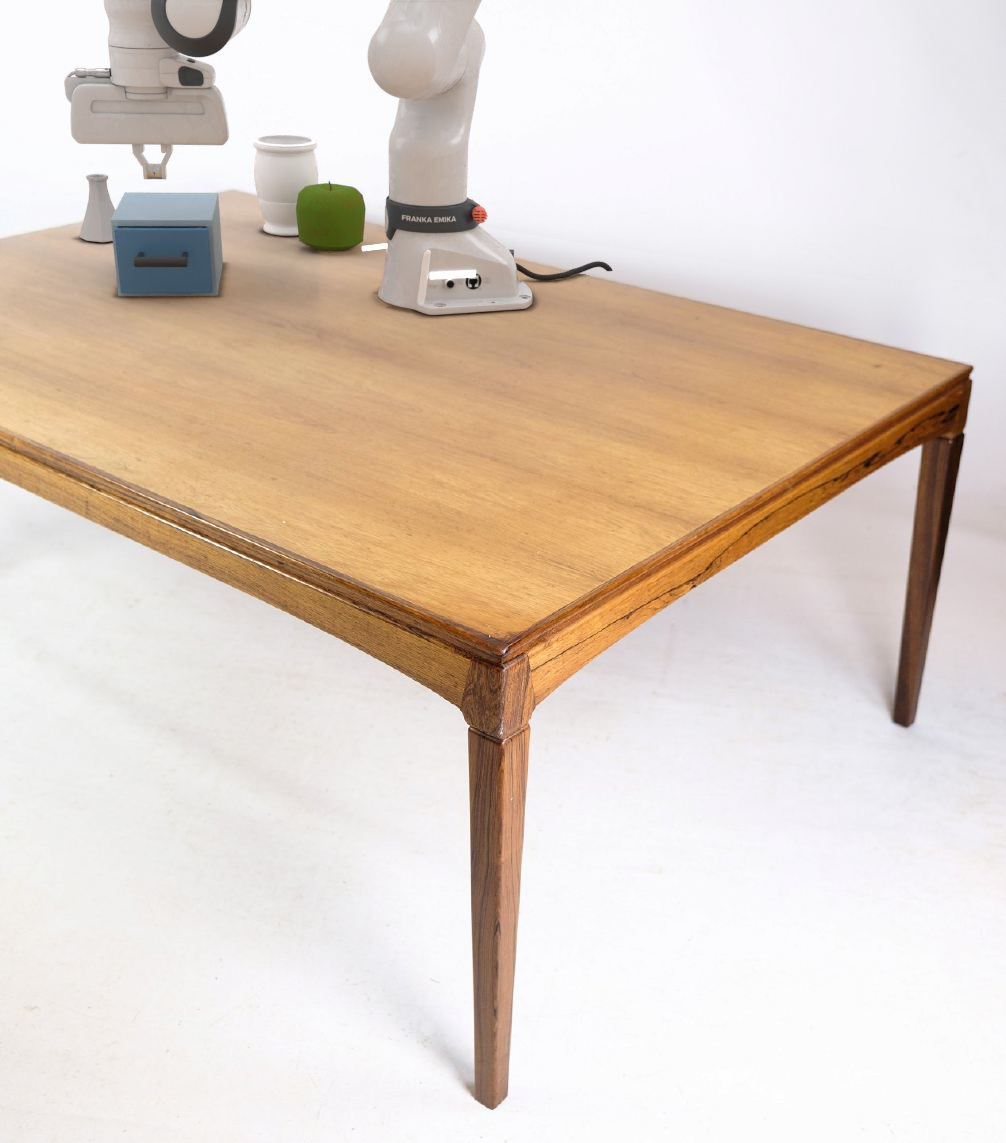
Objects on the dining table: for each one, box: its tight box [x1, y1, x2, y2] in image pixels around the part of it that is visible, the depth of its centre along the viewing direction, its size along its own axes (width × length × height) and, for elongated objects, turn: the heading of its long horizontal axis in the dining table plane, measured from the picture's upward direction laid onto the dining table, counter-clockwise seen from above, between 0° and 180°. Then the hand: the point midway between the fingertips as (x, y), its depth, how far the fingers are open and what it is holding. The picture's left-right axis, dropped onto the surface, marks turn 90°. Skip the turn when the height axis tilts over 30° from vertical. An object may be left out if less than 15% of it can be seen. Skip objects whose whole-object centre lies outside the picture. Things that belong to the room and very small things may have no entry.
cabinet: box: [111, 191, 224, 297], centre depth 190 cm, size 18×14×11 cm
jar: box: [252, 134, 319, 237], centre depth 217 cm, size 11×10×15 cm
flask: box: [78, 173, 116, 243], centre depth 210 cm, size 7×7×10 cm
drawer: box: [114, 226, 213, 293], centre depth 186 cm, size 22×13×9 cm, turn 8°
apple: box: [296, 180, 367, 253], centre depth 209 cm, size 11×11×11 cm
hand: (155, 178), depth 174 cm, fingers closed
